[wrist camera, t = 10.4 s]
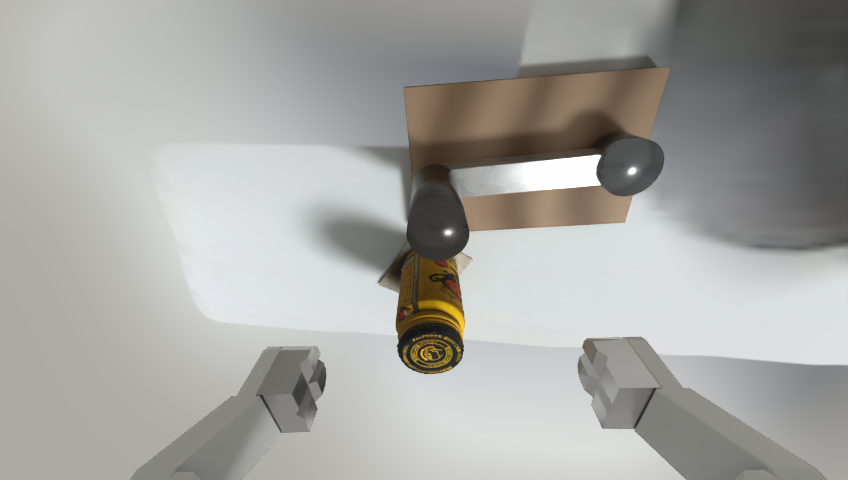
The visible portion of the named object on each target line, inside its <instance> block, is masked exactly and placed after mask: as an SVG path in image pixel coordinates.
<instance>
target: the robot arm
mask: <svg viewBox="0 0 848 480" xmlns="http://www.w3.org/2000/svg"><path fill="white" fill-rule="evenodd" d="M583 349H584V351H585V353H584V354H583V355H582V356H580V357H579V362H578V374H579V377H580V380H581V383H582V386H583V388H584V390H585V391H586V392H588V393H589V394H590V395H591V396H592V397H593V400H592V404H591V405H592V407H593V409H594V411H595V414H596V416H597V418H598V420H599V422H600V424H601V426H602V428H603V429H605V428H606V429H635V432H636V433H638V434H639V435H640V436H641V437H642V438H643V439H644V440H645V441H646V442H647V443H648V444H649V445H650V446H651V447H652V448H653V449H654V450H656V451H657V452H658V453H659V454H660V455H661V456H662V457H663V458H664V459H665V460H666V461H667V462H668V463H669V464H670V465H671V466H672V467H673V468H675V470H677V471H678V472H679V473H680V474H681V475H682V476H683V477H684V478H685V479H686V480H827V479H826V478H825V477H824V476H823V475H822V473H821V472H820V471H818V469H817V468H815V467H814V466H812V465H810V464H809V463H807V462H806V461H804V460H803V459H801V458H799V457H798V456H796V455H795V454H793V453H791V452H790V451H788V450H787V449H785V448H784V447H782V446H780V445H779V444H777V443H775V442H774V441H772V440H771V439H769V438H767V437H766V436H765V435H763V434H761V433H760V432H758V431H757V430H755V429H753V428H752V427H750V426H749V425H747V424H745V423H744V422H742V421H741V420H739V419H738V418H736V417H734V416H733V415H731V414H730V413H728V412H726V411H725V410H723V409H722V408H720V407H718V406H717V405H715V404H713V403H712V402H711V401H709V400H707V399H706V398H704V397H703V396H701V395H699V394H698V393H696V392H695V391H693V390H692V389H690V388H683V387H682V386H681V384H680V383H679V382H678V381H677V379H676V378H675V377H674V375H673V374H672V373H671V371H670V370H669V369H668V368H667V366H666V365H665V364H664V363H663V361H662V360H661V359H660V357H659V356H658V355H657V354H656V352H655V351H654V350H653V348H652V347H651V346H650V345H649V343H648V342H647V341H646V340H645V339H644V338H642V337H622V338H621V337H611V338H587V339H586V340H585V341H584V343H583ZM319 357H320V351H319V349H318V347H315V346H314V347H312V346H310V347H309V346H301V347H300V346H295V347H294V346H282V347H267V348H266V349H265V350H264V351H263V353H262V354H261V356H260V357H259V359H258V361H257V363H256V364H255V366H254V367H253V369H252V371H251V373H250V374H249V376H248V378H247V379H246V381H245V383H244V384H243V386H242V388H241V389H240V391H239V393H238V395H237V396H231V397H230V398H229V399H227V400H226V401H225V402H224V403H222V404H221V405H220V406H218V407H217V408H216V409H215V410H214V411H212V412H211V413H210V414H208V415H207V416H206V417H204V418H203V419H202V420H200V421H199V422H198V423H197V424H195V425H194V426H193V427H191V428H190V429H189V430H188V431H186V432H185V433H184V434H182V435H181V436H180V437H179V438H177V439H176V440H175V441H174V442H172V443H171V444H170V445H169V446H167V447H166V448H165V449H163V450H162V451H161V452H159V453H158V454H157V455H156V456H154V457H153V458H152V459H150V460H149V461H148V462H147V463H145V464H144V465H143V466H141V467H140V468H139V469H138V470H137V471H136V472H135V473H134V475H133V476H132V477H131V479H130V480H243V478H244V477H245V476H246V475H247V474H248V473H249V472H250V470H251V469H252V468H253V467H254V466H255V465H256V463H257V462H258V461H259V460H260V459H261V458H262V456H263V455H264V454H265V453H266V452H267V451H268V450H269V449H270V447H271V446H272V445H273V444H274V443H275V442H276V441H277V439H278V438H279V437H280V436H281V433H289V432H309V431H310V430H311V427H312V424H313V421H314V418H315V415H316V412H317V406H316V404H315V401H316V400H317V399H318V398H319V397H320V396H321V395H322V394H323V391H324V388H325V383H326V368H325V365H324V363H323V362H321V361H320V360H319Z"/></svg>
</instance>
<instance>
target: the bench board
mask: <svg viewBox="0 0 848 480" xmlns="http://www.w3.org/2000/svg"><path fill="white" fill-rule="evenodd" d="M670 68H671V67H651V68H638V69H626V70H613V71H600V72H588V73H575V74H562V75H550V76H537V77H524V78H512V79H499V80H487V81H474V82H462V83H448V84H436V85H423V86H412V87H405V88H404V95H405V106H406V116H407V127H408V137H409V148H410V159H411V170H412V180H413V181H414V178H415V176H416V174H417V173H418V171H419V170H421V169H422V168H423V167H425V166H427V165H431V164H442V163H452V162H462V161H471V160H481V159H491V158H501V157H511V156H521V155H530V154H540V153H550V152H560V151H570V150H580V149H589V148H591V147H592V146H593V144H594V143H595V142H596V141H598V140H599V139H600V138H602V137H603V136H605V135H607V134H609V133H613V132H619V131H622V132H627V133H630V134H633V135H636V136H639V137H642V138H645V139H648V140H649V139H650V135H651V132H652V129H653V125H654V122H655V119H656V115H657V112H658V108H659V105H660V102H661V98H662V95H663V91H664V88H665V85H666V81H667V78H668V74H669V71H670ZM632 196H633V195H631V196H624V197H622V196H616V195H613V194H611V193H609V192H608V191H607V190H605V189H604V188H602V187H601V186H600V185H591V186H580V187H570V188H559V189H548V190H538V191H527V192H516V193H506V194H495V195H484V196H474V197H463V198H462V202H463V207H464V211H465V215H466V219H467V223H468V227H469V231H484V230H502V229H519V228H537V227H555V226H573V225H591V224H609V223H625V220H626V217H627V213H628V210H629V207H630V203H631V200H632Z"/></svg>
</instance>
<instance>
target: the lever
mask: <svg viewBox="0 0 848 480" xmlns="http://www.w3.org/2000/svg"><path fill="white" fill-rule="evenodd" d="M663 164H664V154H663V151H662V149H661V147H660V146H659V145H658V144H657V143H655V142H653V141H651V140H648V139H645V138H642V137H639V136H636V135H633V134H630V133H627V132H622V131H619V132H613V133H609V134H607V135H605V136H603V137H602V138H600V139H599V140H598V141H596V142H595V143H594V144H593V146H592V147H591V148H589V149H580V150H570V151H560V152H550V153H540V154H530V155H521V156H511V157H501V158H491V159H481V160H471V161H462V162H452V163H442V164H431V165H427V166H425V167H423V168H422V169H421V170H419V171H418V173H417V174H416V176H415V178H414V181H413V187H412V194H411V202H410V210H409V217H408V225H407V240H408V243H409V245H410V247H411V248H412V250H413V251H414V252H415V253H416V254H418V255H419V256H421V257H423V258H425V259H428V260H434V261H441V260H446V259H450V258H452V257H454V256H456V255H457V254H459V253H460V252H461V251H462V250H463V249H464V247H465V246H466V244H467V242H468V239H469V227H468V223H467V219H466V215H465V211H464V207H463V202H462V198H463V197H474V196H484V195H495V194H506V193H516V192H527V191H538V190H548V189H559V188H570V187H580V186H591V185H600V186H601V187H602V188H604V189H605V190H607V191H608V192H609V193H611V194H613V195H616V196H622V197H624V196H631V195H635V194H637V193H639V192H642V191H643V190H645V189H646V188H648V187H649V186H650V185H651V184H652V183H653V182H654V181H655V180H656V179H657V177H658V176H659V174H660V172H661V170H662V168H663Z"/></svg>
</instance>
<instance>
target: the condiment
mask: <svg viewBox="0 0 848 480" xmlns="http://www.w3.org/2000/svg"><path fill="white" fill-rule="evenodd" d="M472 260H473V259H471V258H470V257H468V256H466V255H464V254H462V253H459V254H457V255H456V256H454V257H452V258H450V259H446V260H441V261H434V260H428V259H425V258H423V257H421V256H419V255H418V254H416V253H415V252H414V251H413V250H412V248H411V247H410V245H409V243H408V241H407V242H406V244H405V245H404V247H403V248H402V250H401V251H400V253H399V254H398V256H397V258H396V259H395V261H394V262H393V264H392V265H391V267H390V268H389V270H388V271H387V273H386V274H385V276H384V278H383V279H382V281H381V282H380V284H379V285H380V286H383V287H386V288H388V289H391V290H393V291H395V292H398V293H399V300H398V308H397V316H396V330H397V332H398V340H399V343H398V345H397V347H398V353H399V357H400V358H401V360H402V362H403V363H404V364H405V365H406V366H407V367H408V368H410V369H412V370H413V371H417V372H420V373H424V374H436V373H442V372H446V371H448V370H450V369H452V368H454V367H455V366H456V365H457V364H458V363H459V362H460V361H461V359H462V355H463V351H464V349H463V347H464V345H463V331H464V328H465V320H464V311H463V306H462V299H461V291H460V284H459V277H458V276H459V275H460V274H461V273H462V271H463V270H464V269H465V268H466V267H467V265H468V264H469V263H470V262H471V261H472ZM401 269H402V270H401Z"/></svg>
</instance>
